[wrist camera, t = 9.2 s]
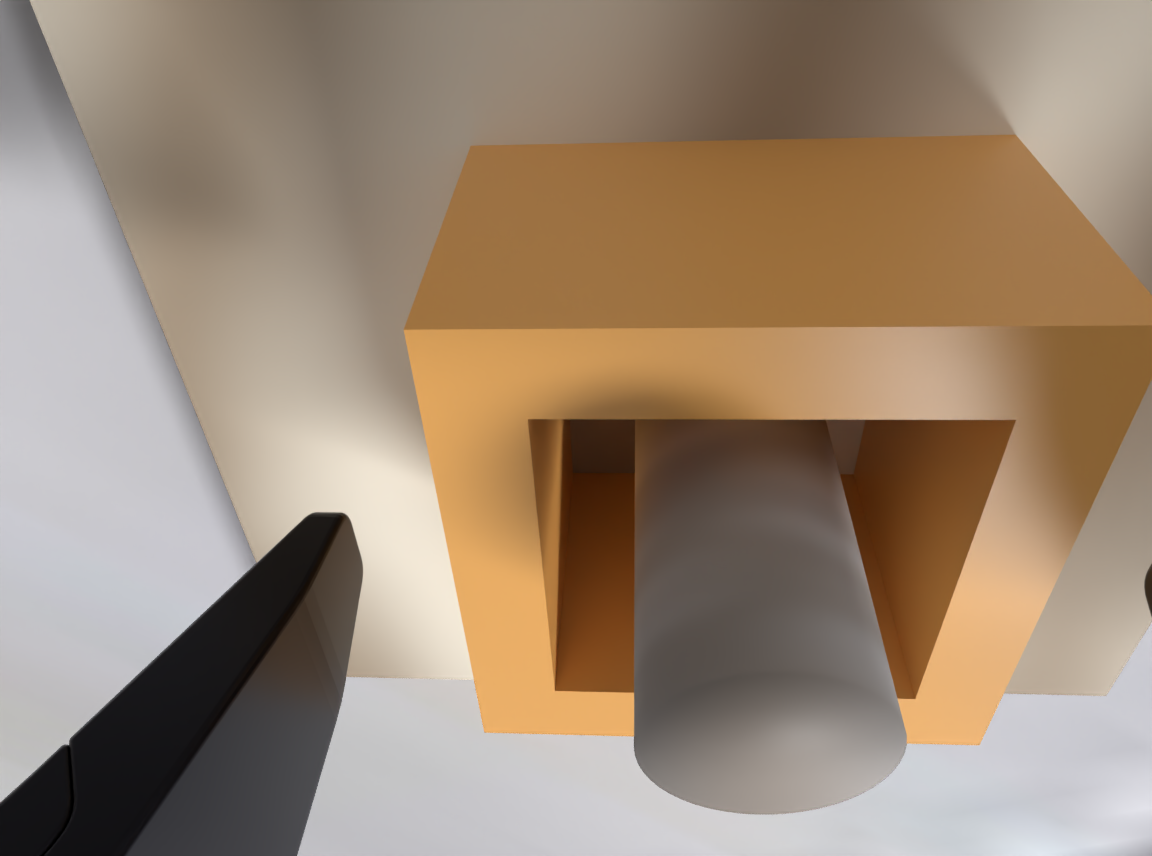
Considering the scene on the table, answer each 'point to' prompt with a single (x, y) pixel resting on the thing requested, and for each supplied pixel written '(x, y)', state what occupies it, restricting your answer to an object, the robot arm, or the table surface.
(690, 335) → the orange square ring
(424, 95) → the post board
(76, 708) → the table surface
